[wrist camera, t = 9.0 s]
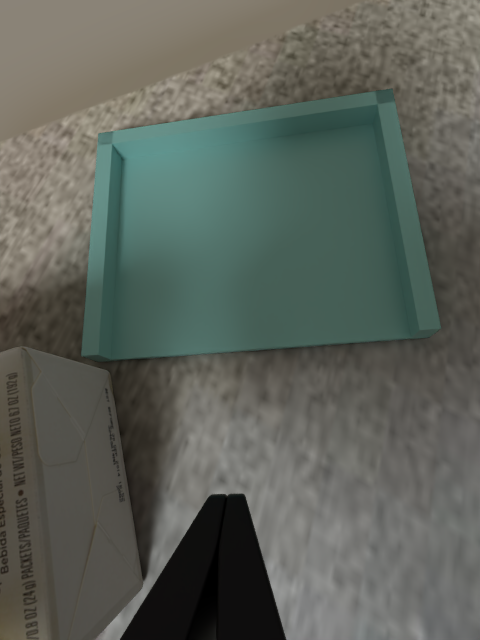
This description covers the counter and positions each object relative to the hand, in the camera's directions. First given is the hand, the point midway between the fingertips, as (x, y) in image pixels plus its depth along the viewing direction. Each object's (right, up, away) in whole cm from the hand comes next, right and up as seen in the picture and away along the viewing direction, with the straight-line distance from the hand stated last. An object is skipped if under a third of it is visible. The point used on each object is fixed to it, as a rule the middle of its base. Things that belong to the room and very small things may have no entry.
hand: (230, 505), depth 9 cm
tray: (+1, +9, +10) cm, 13 cm away
